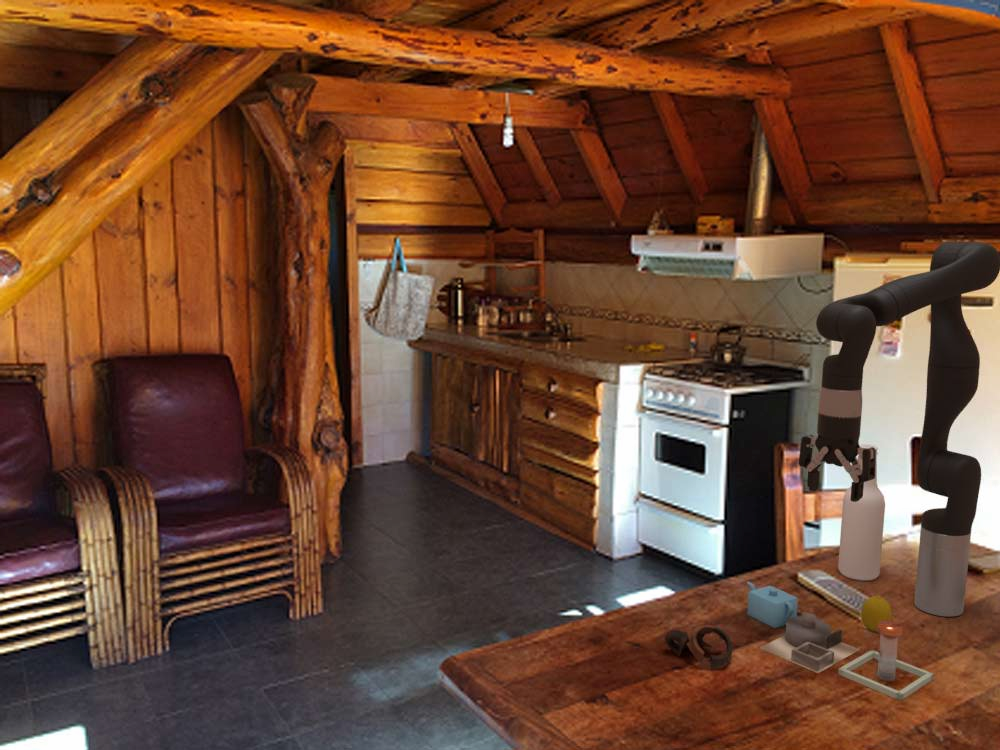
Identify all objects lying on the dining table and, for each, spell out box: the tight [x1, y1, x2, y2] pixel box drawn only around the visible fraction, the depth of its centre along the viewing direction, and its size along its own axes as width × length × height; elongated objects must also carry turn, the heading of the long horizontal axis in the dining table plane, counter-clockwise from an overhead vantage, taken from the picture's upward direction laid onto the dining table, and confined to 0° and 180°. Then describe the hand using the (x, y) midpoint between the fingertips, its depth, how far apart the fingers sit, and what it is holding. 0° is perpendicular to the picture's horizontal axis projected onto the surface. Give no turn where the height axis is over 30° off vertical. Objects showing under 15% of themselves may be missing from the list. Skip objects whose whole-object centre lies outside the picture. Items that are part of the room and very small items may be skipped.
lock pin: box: [876, 621, 903, 682], centre depth 154 cm, size 4×4×10 cm
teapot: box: [746, 581, 799, 629], centre depth 178 cm, size 12×6×8 cm, turn 31°
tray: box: [837, 649, 935, 702], centre depth 155 cm, size 11×11×2 cm
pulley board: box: [759, 612, 861, 674], centre depth 165 cm, size 14×12×6 cm
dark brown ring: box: [663, 624, 733, 671], centre depth 161 cm, size 12×10×8 cm
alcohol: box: [837, 443, 886, 582], centre depth 201 cm, size 9×9×30 cm
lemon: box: [860, 594, 893, 634], centre depth 173 cm, size 6×6×8 cm
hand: (833, 495), depth 169 cm, fingers open, 8 cm apart
